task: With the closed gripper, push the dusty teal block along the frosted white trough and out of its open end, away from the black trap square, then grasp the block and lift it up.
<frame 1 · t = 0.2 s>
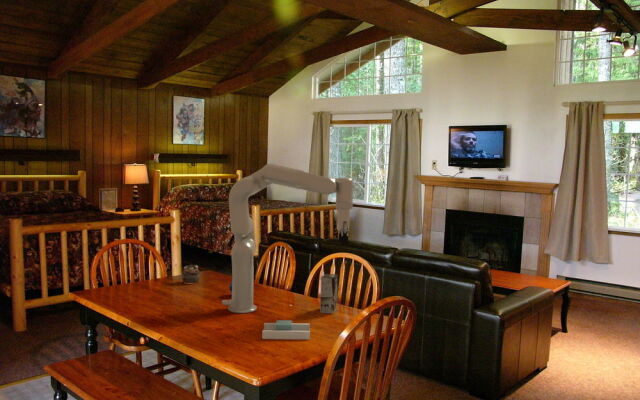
hand: (343, 243, 243), 31 cm above the table, tool pointing down, fingers open, 9 cm apart
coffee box: (328, 311, 246), on the table
cupcake: (190, 283, 296), on the table
trough: (286, 334, 210), on the table
block: (283, 335, 210), on the table
ornament: (238, 296, 269), on the table
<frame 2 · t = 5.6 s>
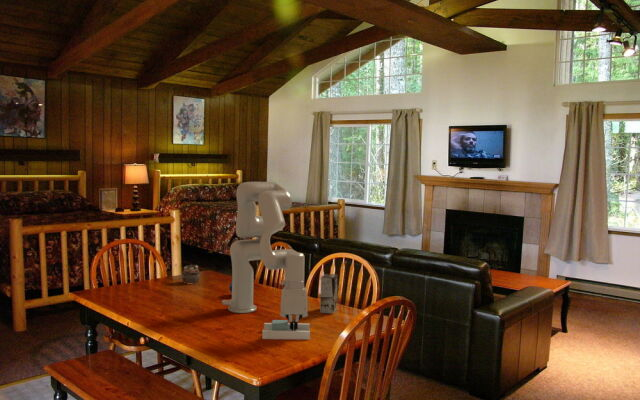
hand: (293, 331, 210), 2 cm above the table, tool pointing down, fingers closed
block: (279, 334, 210), on the table, touching gripper
everything else where it was.
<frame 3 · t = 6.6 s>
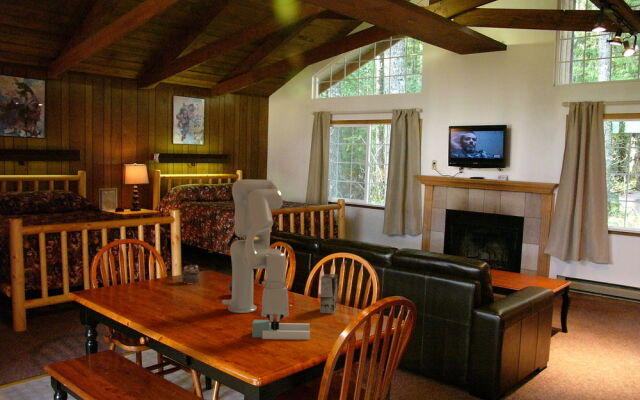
hand: (274, 330, 210), 2 cm above the table, tool pointing down, fingers closed
block: (260, 334, 210), on the table, touching gripper
everything else where it was.
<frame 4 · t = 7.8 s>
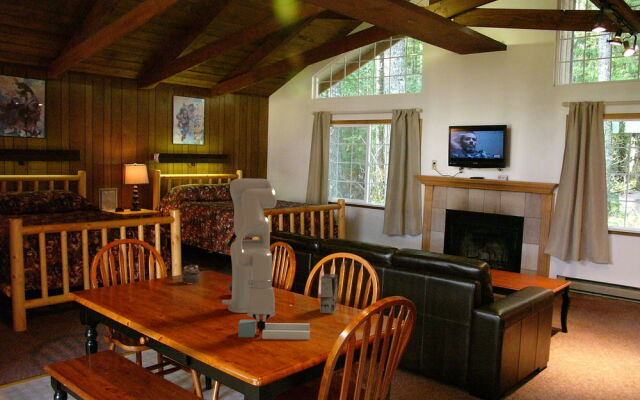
hand: (261, 330, 210), 2 cm above the table, tool pointing down, fingers closed
block: (247, 334, 210), on the table, touching gripper
everything else where it was.
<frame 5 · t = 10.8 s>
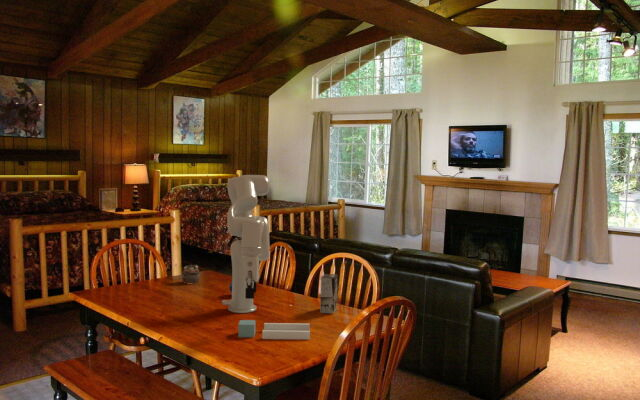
hand: (250, 295, 209), 15 cm above the table, tool pointing down, fingers open, 9 cm apart
block: (246, 335, 210), on the table
everything else where it was.
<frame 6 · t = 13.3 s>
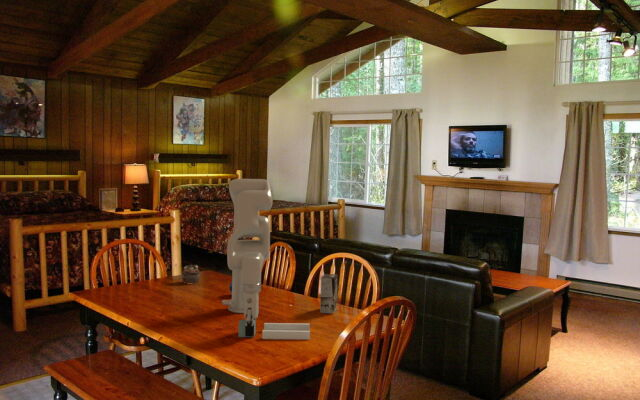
hand: (250, 332, 210), 1 cm above the table, tool pointing down, fingers closed on block, 6 cm apart
block: (246, 334, 210), on the table, touching gripper
everything else where it was.
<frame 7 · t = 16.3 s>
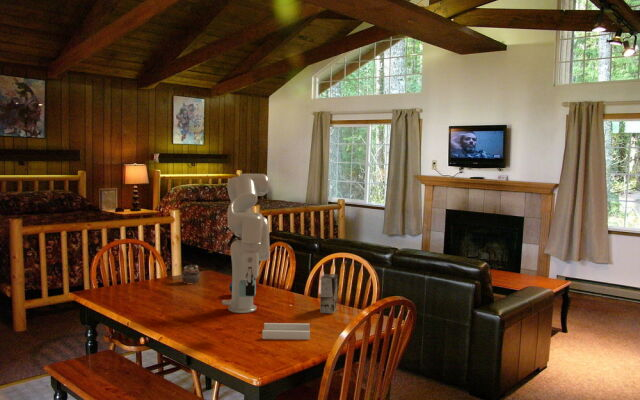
hand: (250, 292, 209), 16 cm above the table, tool pointing down, fingers closed on block, 6 cm apart
block: (247, 294, 209), point 16 cm above the table, touching gripper
everything else where it was.
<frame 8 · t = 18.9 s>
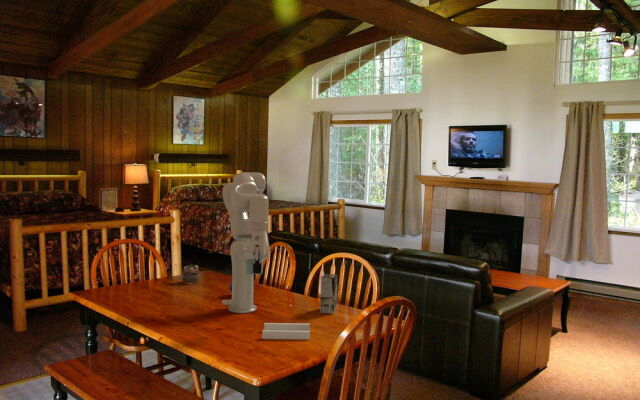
hand: (257, 271, 215), 23 cm above the table, tool pointing down, fingers closed on block, 6 cm apart
block: (254, 272, 215), point 23 cm above the table, touching gripper
everything else where it was.
at the end: the gripper is holding block; block inside the target area (6.2 cm from its centre), point 22.8 cm above the table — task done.
